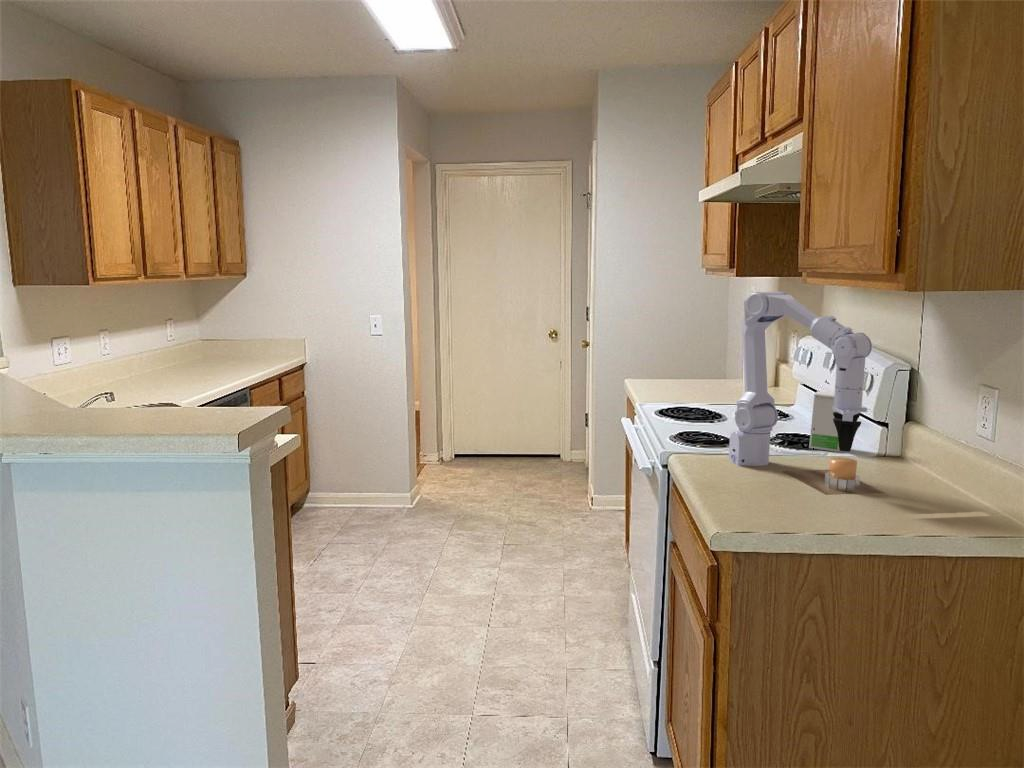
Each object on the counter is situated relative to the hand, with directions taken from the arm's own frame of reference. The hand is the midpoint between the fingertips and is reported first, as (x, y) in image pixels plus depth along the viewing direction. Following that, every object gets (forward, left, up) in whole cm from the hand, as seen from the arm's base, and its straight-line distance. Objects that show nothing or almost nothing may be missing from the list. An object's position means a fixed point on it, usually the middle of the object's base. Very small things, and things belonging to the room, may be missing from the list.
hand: (844, 447), depth 173 cm
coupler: (0, 0, -9) cm, 9 cm away
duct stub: (0, 0, -9) cm, 9 cm away
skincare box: (+19, +39, -10) cm, 45 cm away
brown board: (0, +4, -10) cm, 11 cm away
